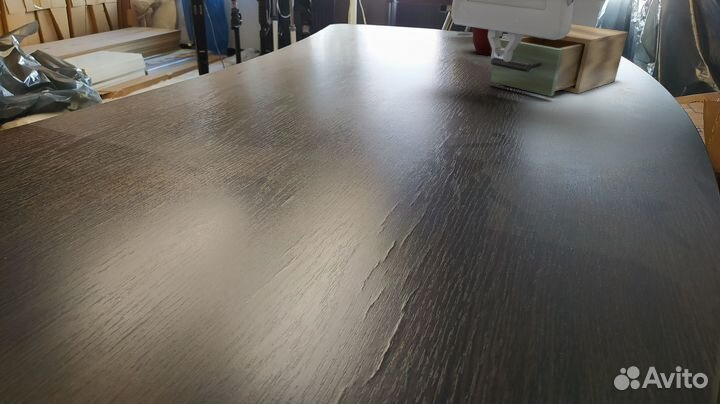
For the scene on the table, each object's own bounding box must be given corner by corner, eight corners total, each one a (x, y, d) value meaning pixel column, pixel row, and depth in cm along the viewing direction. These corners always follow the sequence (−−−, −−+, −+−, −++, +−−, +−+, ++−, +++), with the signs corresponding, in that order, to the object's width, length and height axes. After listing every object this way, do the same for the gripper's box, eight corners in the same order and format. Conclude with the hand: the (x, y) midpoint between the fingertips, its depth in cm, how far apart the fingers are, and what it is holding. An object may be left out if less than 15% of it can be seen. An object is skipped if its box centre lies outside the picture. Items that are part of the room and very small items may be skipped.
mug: (513, 53, 125) (520, 10, 120) (510, 59, 118) (517, 14, 114) (471, 49, 128) (476, 7, 123) (465, 54, 121) (471, 11, 117)
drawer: (535, 101, 83) (544, 53, 80) (474, 85, 91) (480, 41, 88) (589, 83, 95) (599, 41, 91) (531, 71, 103) (538, 32, 99)
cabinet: (578, 93, 92) (590, 39, 87) (513, 78, 101) (522, 29, 96) (614, 81, 101) (627, 31, 97) (553, 68, 110) (562, 23, 105)
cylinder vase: (531, 55, 122) (552, -59, 111) (540, 47, 132) (560, -59, 121) (585, 61, 118) (613, -58, 106) (590, 53, 127) (616, -57, 116)
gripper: (590, -28, 72) (569, 69, 78) (474, -36, 85) (463, 48, 91) (569, -28, 68) (548, 74, 74) (450, -35, 81) (441, 52, 87)
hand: (500, 60), depth 83 cm, fingers closed
